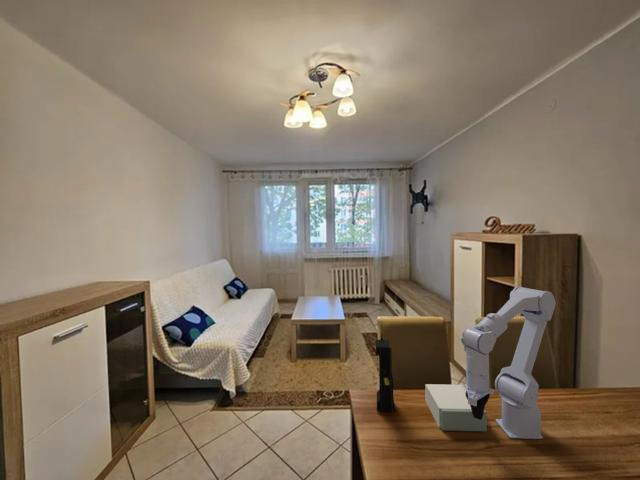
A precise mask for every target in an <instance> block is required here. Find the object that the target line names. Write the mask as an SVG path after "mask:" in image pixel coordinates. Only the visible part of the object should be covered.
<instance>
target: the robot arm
mask: <svg viewBox="0 0 640 480" xmlns="http://www.w3.org/2000/svg"><path fill="white" fill-rule="evenodd" d="M556 305H557V303H556V300H555V297H554V294H553V293H552V292H551V291H549V290H548V291H547V290H540V289H533V288H528V287H524V286H520V285H519V286H515V287H514V288H513V289H512V290H511V291H510V293H509V299H508V300H507V302H506V303H505V304H504V305H503V306H502V307H501V308H500V309H499V310H498V311H497V312H496V313H493V312H492V313H490V312H489V313H488V314H487V315H486V316H485V317H484V318H483V319H481V321H480V322H478V323H477V324H476V325H475V326H474V327H468V328H465V330H464V331H463V332H462V335H461V337H460V342H461V344H462V345H463V350H464V353H465V367H466V368H465V370H466V371H465V372H466V377H465V378H466V379H465V380H466V382H465V385H466V389H467V391H466V398H467V399H468V404H470V406H471V410H472V414H473V417H474V418H477V419H480V420H482V417H483V414H484V409H485V410H486V405H487V404H488V401H489V400H490V396H491V395H494V393H495V390H496V392H497V393H499V394H498V397H500V398H501V418H496V419H495V422H496V424H498V425H499V427H500V428H501V429H502V430H503V431H504V433H505V434H506V435H507V436H508V438H510V439H529V440H530V439H534V440H542V439H543V438H544V437H543V436H542V426H541V425H542V414H541V411H540V409H539V407H538V405H537V402H538V400H539V387H540V385H539V383H538V382H537V380H536V379H535V377H534V376H533V375H532V372H533V368H534V364H535V362H536V359H537V356H538V352H539V349H540V345H541V342H542V339H543V336H544V332H545V329H546V325H547V323H548V322H549V321H552V318H553V314H554V310H555V308H556ZM519 314H521V315H523V316H524V319H525V320H524V322H523V323H524V324H523V327H522V330H521V332H520V336H519V339H518V341H517V345H516V349H515V351H514V355H513V357H512V358H513V359H512V361H511V364H510V366H506V367H503V368H501V370H500V373H499V374H498V375H497V376H496V378H495V381H494V387H495V389H494V388H491V387H490V354H489V353H491V352H492V351H493V349H494V346H495V344H496V342H497V338H499V337H500V336H501V335H502V334H503V333H504V332H505V331H506V330H507V329H508V322H510V321H512V319H514V318H515V317H516V316H518V315H519Z"/></svg>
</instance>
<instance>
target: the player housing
mask: <svg viewBox="0 0 640 480" xmlns="http://www.w3.org/2000/svg"><path fill="white" fill-rule="evenodd" d="M424 386H425V388H424V389H425V391H424V392H425V393H424V395H425V397H424V398H425V403H426V404H427V407H428V409H429V410H430V413H431V414H432V416H433V419H434V420H435V422H436V424H437V426H438V428H439V429H441V409H471V406H470V404H468V399H467V398H466V391H467V389H466V384H445V383H443V384H439V383H438V384H436V383H435V384H434V383H433V384H432V383H429V384H428V383H426V384H424ZM484 410H485V411H486V408H485V409H484Z"/></svg>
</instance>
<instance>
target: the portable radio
mask: <svg viewBox="0 0 640 480" xmlns="http://www.w3.org/2000/svg"><path fill="white" fill-rule="evenodd" d="M380 335H381V336H380V339H376V340H375V353H376V354H375V355H377V356H378V363H379V364H378V367H379V368H378V369H379V370H378V375H379V380H378V381H379V384H378V385H379V386H378V387H379V389H378V390H377V391H376V410H377V411H379V412H386V413H393V412H394V411H395V400H394V399H395V398H394V387H395V386H394V378H393V372H392V371H393V368H392V367H393V364H392V362H393V360H392V359H393V358H392V354H393V353H392V343H391V341H390V339H384V338H383V332H382V333H380Z"/></svg>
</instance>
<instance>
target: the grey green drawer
mask: <svg viewBox="0 0 640 480" xmlns="http://www.w3.org/2000/svg"><path fill="white" fill-rule="evenodd" d="M487 422H488V421H487V411H486V409H485V410H484V414H483V417H482V420H480V419H477V418H474V417H473V414H472V410H471V409H441V428H440V429H441V430H442V431H453V432H454V431H457V432H458V431H459V432H487V430H488V429H487Z"/></svg>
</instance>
